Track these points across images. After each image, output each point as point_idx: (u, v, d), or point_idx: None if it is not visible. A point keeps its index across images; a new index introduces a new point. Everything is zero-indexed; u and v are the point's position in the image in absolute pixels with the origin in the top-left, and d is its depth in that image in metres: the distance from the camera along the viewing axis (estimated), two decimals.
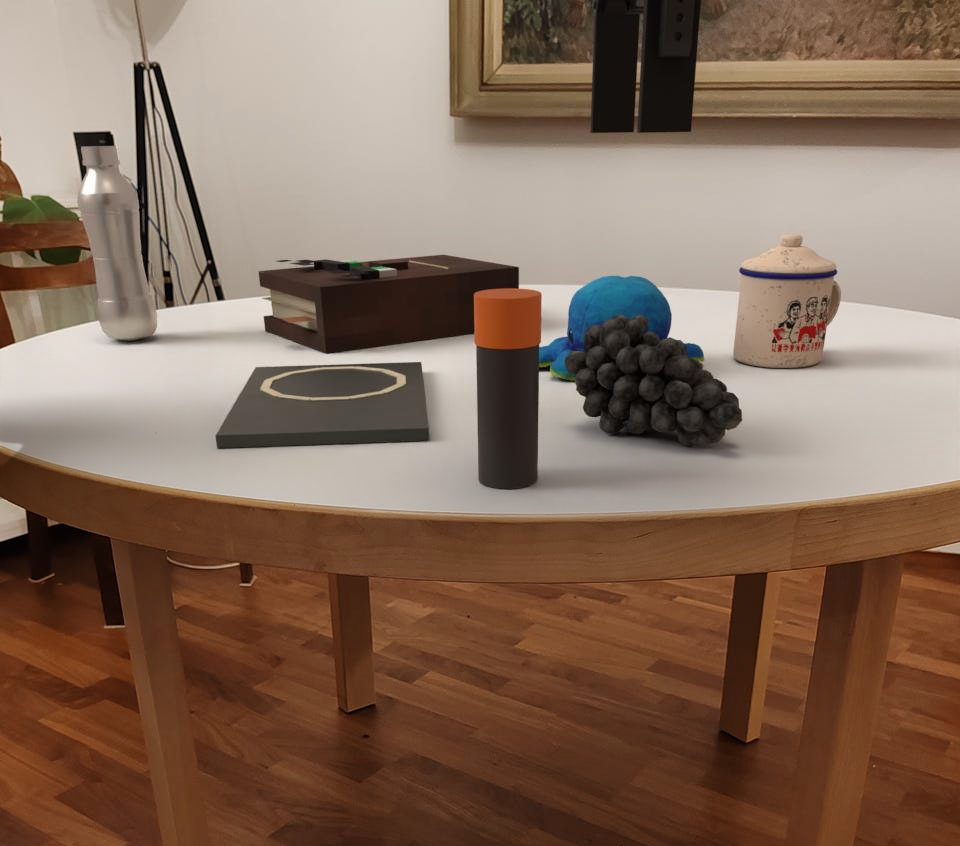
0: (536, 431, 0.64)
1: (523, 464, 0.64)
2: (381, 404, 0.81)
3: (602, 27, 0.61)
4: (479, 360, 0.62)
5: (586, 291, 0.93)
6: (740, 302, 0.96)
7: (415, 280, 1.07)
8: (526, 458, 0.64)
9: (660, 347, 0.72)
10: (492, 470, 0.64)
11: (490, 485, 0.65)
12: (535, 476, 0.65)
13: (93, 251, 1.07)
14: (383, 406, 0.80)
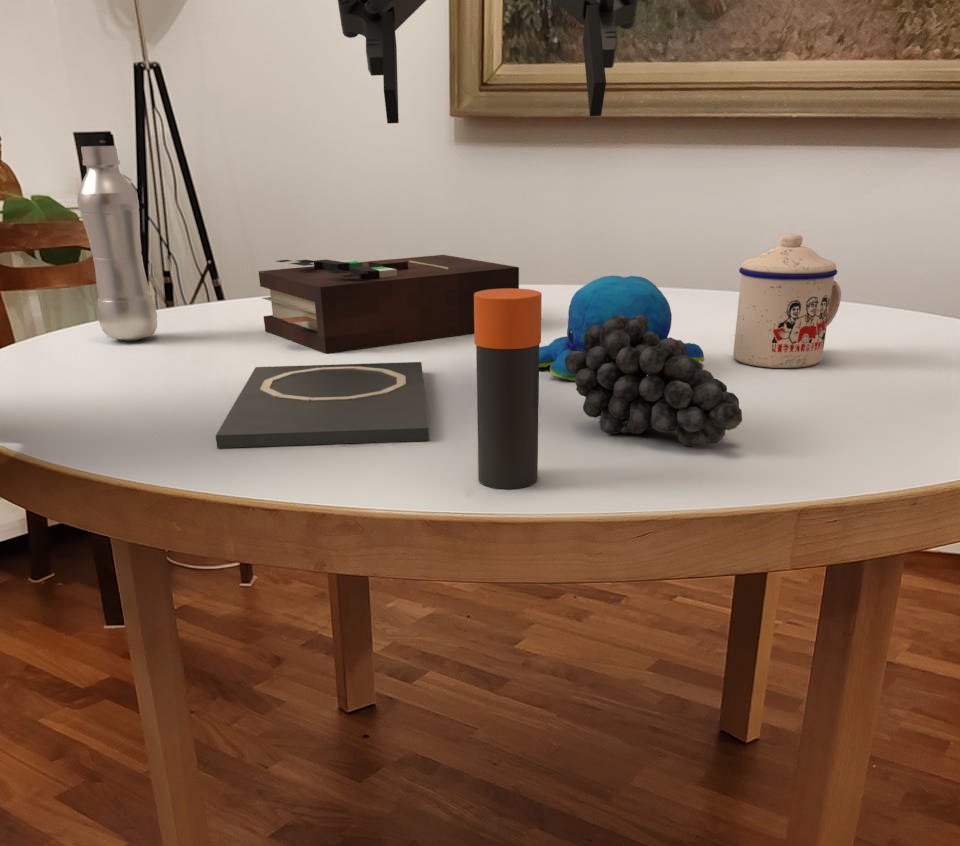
0: (536, 431, 0.64)
1: (523, 464, 0.64)
2: (381, 404, 0.81)
3: None
4: (479, 360, 0.62)
5: (586, 291, 0.93)
6: (740, 302, 0.96)
7: (415, 280, 1.07)
8: (526, 458, 0.64)
9: (660, 347, 0.72)
10: (492, 470, 0.64)
11: (490, 485, 0.65)
12: (535, 476, 0.65)
13: (93, 251, 1.07)
14: (383, 406, 0.80)
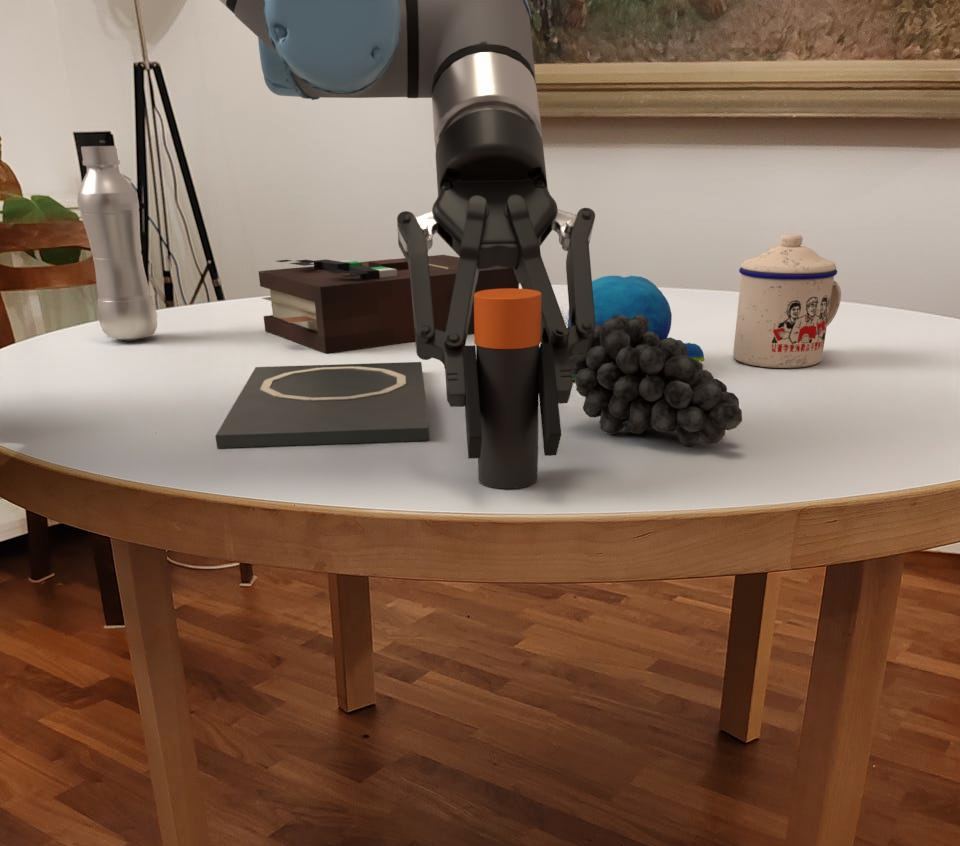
0: (536, 431, 0.64)
1: (523, 464, 0.64)
2: (381, 404, 0.81)
3: None
4: (479, 360, 0.62)
5: None
6: (740, 302, 0.96)
7: None
8: (526, 458, 0.64)
9: (660, 347, 0.72)
10: (492, 470, 0.64)
11: (490, 485, 0.65)
12: (535, 476, 0.65)
13: (93, 251, 1.07)
14: (383, 406, 0.80)
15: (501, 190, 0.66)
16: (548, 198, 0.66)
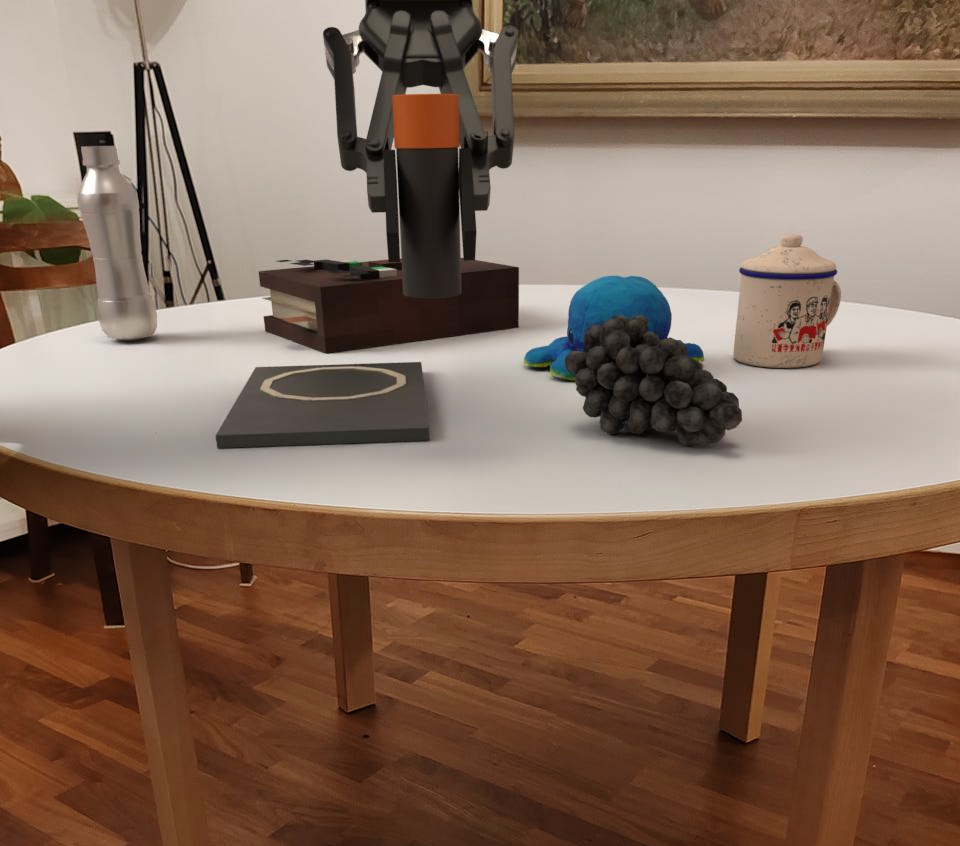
0: (457, 240, 0.65)
1: (445, 272, 0.65)
2: (381, 404, 0.81)
3: None
4: (399, 164, 0.63)
5: (586, 291, 0.93)
6: (740, 302, 0.96)
7: None
8: (448, 267, 0.65)
9: (660, 347, 0.72)
10: (414, 279, 0.66)
11: (413, 295, 0.66)
12: (458, 288, 0.67)
13: (93, 251, 1.07)
14: (383, 406, 0.80)
15: (426, 9, 0.67)
16: (472, 17, 0.67)
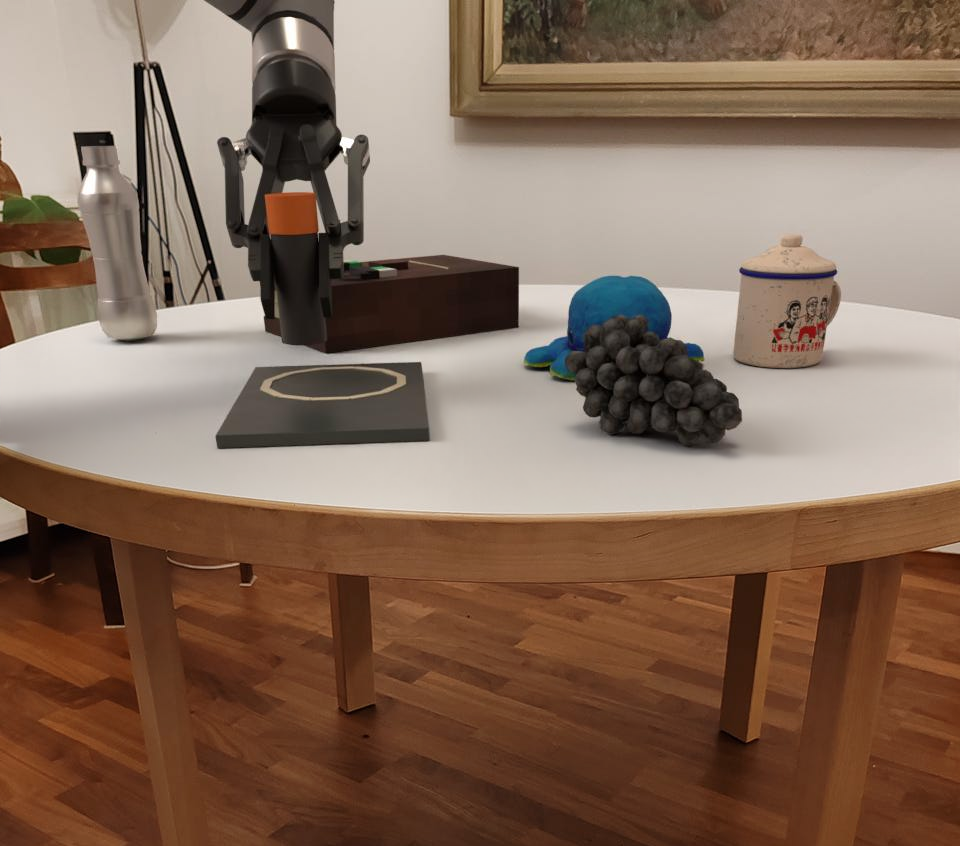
0: None
1: (311, 326, 0.85)
2: (381, 404, 0.81)
3: (270, 244, 0.83)
4: (272, 245, 0.83)
5: (586, 291, 0.93)
6: (740, 302, 0.96)
7: (415, 280, 1.07)
8: (313, 321, 0.85)
9: (660, 347, 0.72)
10: (288, 330, 0.86)
11: (288, 343, 0.86)
12: (323, 337, 0.87)
13: (93, 251, 1.07)
14: (383, 406, 0.80)
15: (298, 122, 0.87)
16: (333, 127, 0.87)
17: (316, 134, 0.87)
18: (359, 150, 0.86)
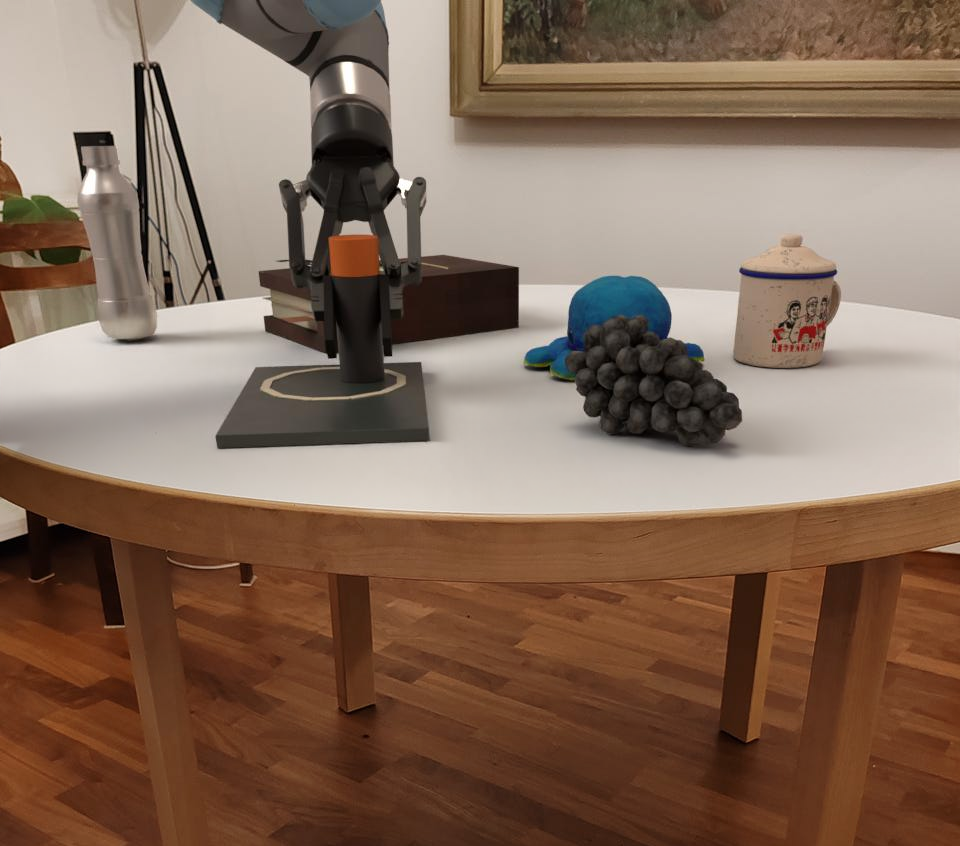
0: (379, 340, 0.87)
1: (370, 364, 0.87)
2: (381, 404, 0.81)
3: (332, 285, 0.85)
4: (334, 286, 0.85)
5: (586, 291, 0.93)
6: (740, 302, 0.96)
7: None
8: (372, 360, 0.87)
9: (660, 347, 0.72)
10: (347, 369, 0.88)
11: (347, 381, 0.88)
12: (381, 375, 0.89)
13: (93, 251, 1.07)
14: (383, 406, 0.80)
15: (357, 164, 0.89)
16: (392, 170, 0.89)
17: (375, 176, 0.89)
18: (417, 192, 0.88)
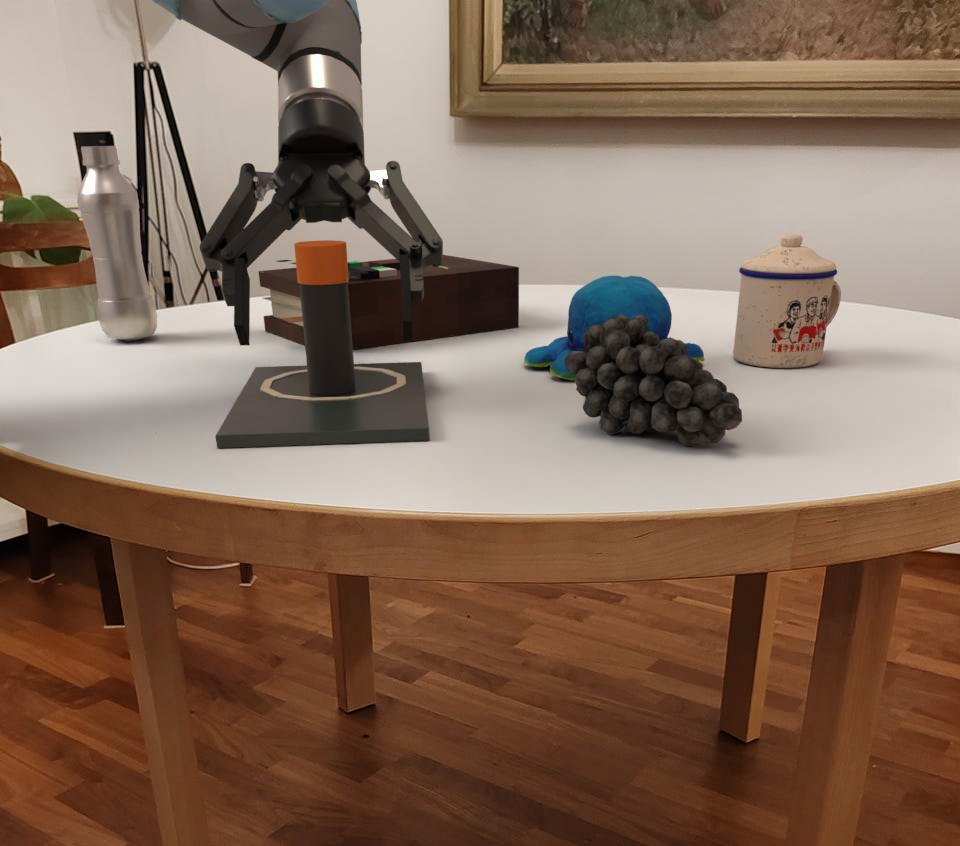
0: (349, 351, 0.83)
1: (340, 376, 0.83)
2: (381, 404, 0.81)
3: (244, 268, 0.81)
4: (301, 295, 0.81)
5: (586, 291, 0.93)
6: (740, 302, 0.96)
7: None
8: (342, 372, 0.83)
9: (660, 347, 0.72)
10: (316, 381, 0.83)
11: (316, 393, 0.84)
12: (351, 387, 0.85)
13: (93, 251, 1.07)
14: (383, 406, 0.80)
15: (326, 162, 0.85)
16: (362, 167, 0.85)
17: None
18: (397, 176, 0.85)
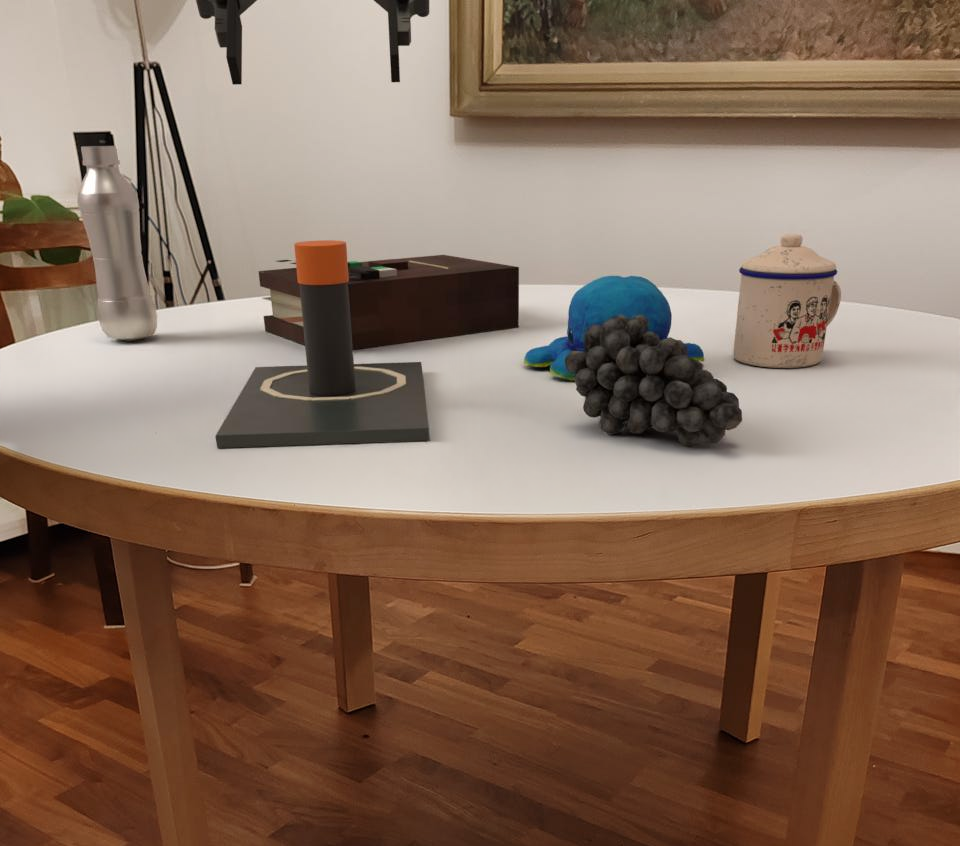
0: (349, 351, 0.83)
1: (340, 376, 0.83)
2: (381, 404, 0.81)
3: (237, 8, 0.84)
4: (301, 295, 0.81)
5: (586, 291, 0.93)
6: (740, 302, 0.96)
7: (415, 280, 1.07)
8: (342, 372, 0.83)
9: (660, 347, 0.72)
10: (316, 381, 0.83)
11: (316, 393, 0.84)
12: (351, 387, 0.85)
13: (93, 251, 1.07)
14: (383, 406, 0.80)
15: None
16: None
17: None
18: None
